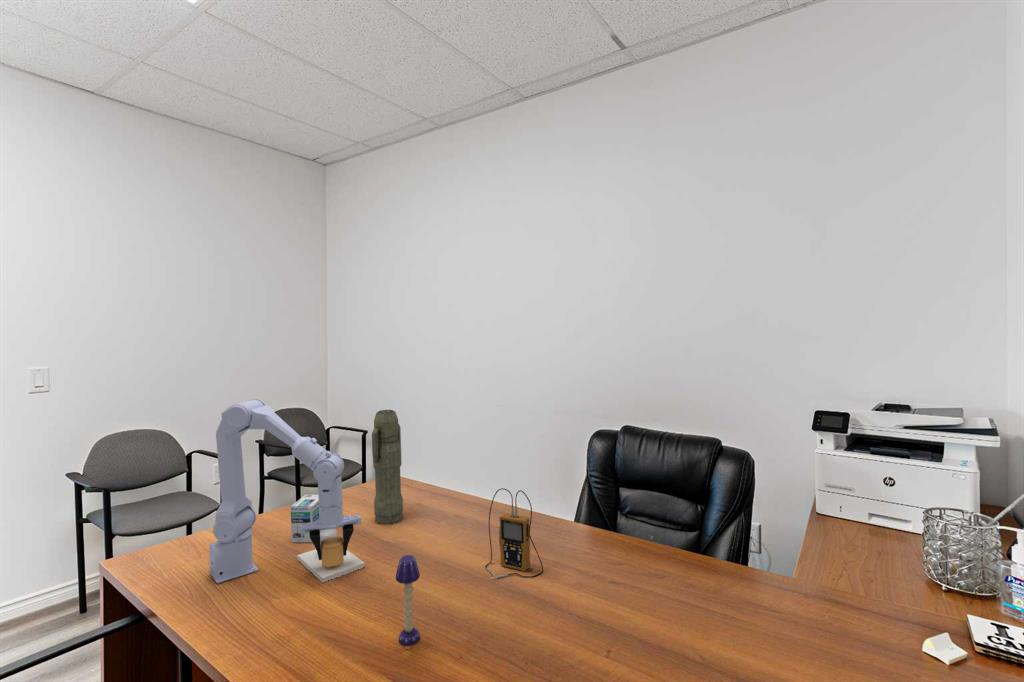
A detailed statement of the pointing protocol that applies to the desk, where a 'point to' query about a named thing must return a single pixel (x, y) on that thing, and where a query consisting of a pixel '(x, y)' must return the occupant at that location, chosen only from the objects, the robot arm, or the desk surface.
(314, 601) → the desk surface
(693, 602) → the desk surface
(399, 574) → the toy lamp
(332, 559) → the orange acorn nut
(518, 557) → the multimeter
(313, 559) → the plate
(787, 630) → the desk surface
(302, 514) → the light bulb box
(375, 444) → the thermos
